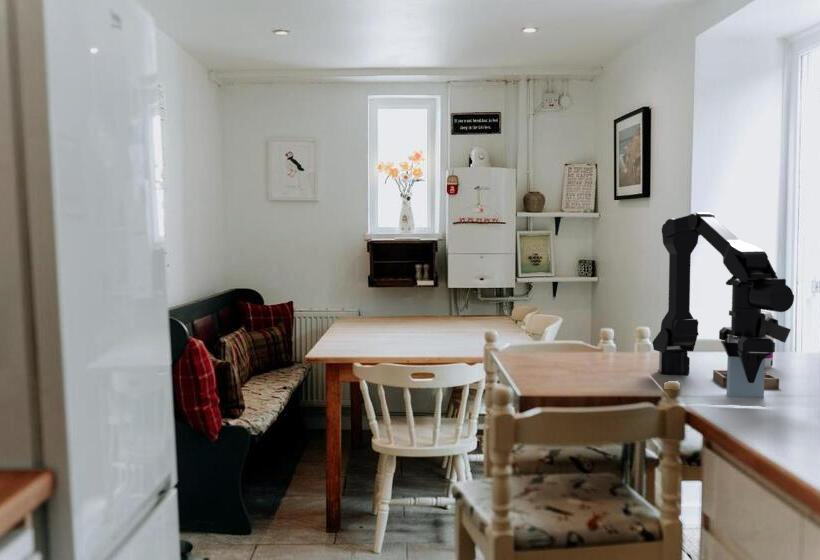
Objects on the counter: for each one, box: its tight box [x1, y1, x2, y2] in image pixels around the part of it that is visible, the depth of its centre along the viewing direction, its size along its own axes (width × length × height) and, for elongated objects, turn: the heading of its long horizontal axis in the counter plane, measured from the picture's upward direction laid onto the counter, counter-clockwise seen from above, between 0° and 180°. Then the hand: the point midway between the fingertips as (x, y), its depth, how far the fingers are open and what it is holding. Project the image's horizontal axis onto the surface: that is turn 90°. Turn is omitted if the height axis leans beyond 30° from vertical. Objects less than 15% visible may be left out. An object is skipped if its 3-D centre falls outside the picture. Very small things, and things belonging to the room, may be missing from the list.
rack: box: [711, 369, 782, 391], centre depth 160 cm, size 12×11×3 cm
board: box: [726, 356, 766, 398], centre depth 148 cm, size 7×2×9 cm, turn 80°
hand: (744, 378), depth 148 cm, fingers open, 9 cm apart
